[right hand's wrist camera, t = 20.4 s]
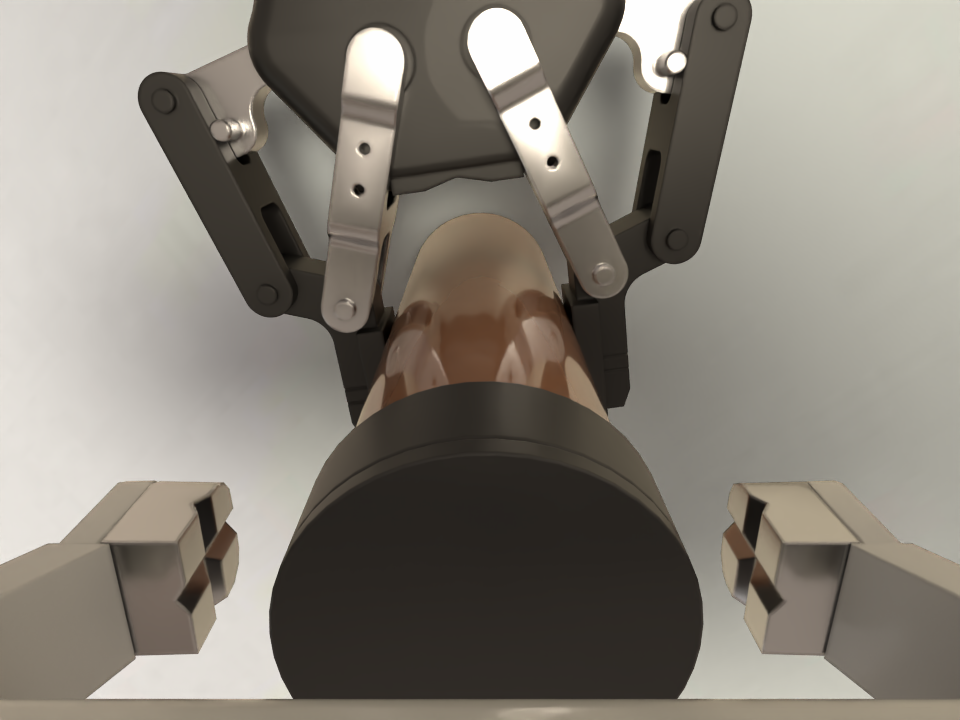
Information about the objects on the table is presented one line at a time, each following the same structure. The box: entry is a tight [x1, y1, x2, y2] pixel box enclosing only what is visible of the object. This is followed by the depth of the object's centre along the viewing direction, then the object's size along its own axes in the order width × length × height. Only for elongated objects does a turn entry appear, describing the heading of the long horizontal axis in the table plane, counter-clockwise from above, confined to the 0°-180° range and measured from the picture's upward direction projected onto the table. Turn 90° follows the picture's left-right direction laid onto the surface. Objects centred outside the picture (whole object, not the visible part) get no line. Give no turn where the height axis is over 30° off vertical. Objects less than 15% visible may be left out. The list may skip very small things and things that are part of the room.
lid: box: [269, 381, 703, 699], centre depth 9 cm, size 5×5×2 cm
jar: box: [356, 213, 610, 427], centre depth 16 cm, size 5×5×16 cm
